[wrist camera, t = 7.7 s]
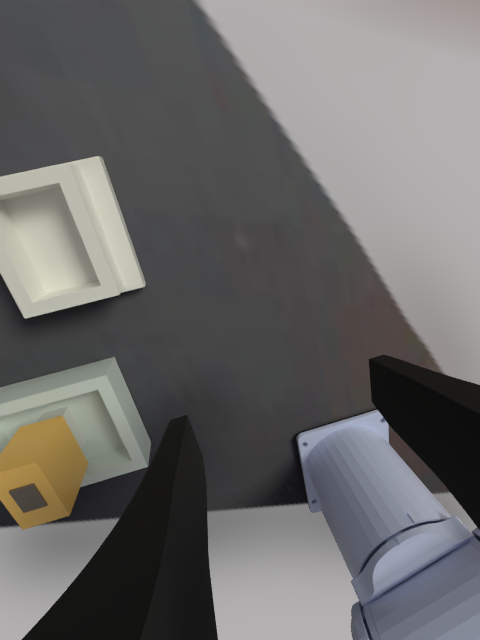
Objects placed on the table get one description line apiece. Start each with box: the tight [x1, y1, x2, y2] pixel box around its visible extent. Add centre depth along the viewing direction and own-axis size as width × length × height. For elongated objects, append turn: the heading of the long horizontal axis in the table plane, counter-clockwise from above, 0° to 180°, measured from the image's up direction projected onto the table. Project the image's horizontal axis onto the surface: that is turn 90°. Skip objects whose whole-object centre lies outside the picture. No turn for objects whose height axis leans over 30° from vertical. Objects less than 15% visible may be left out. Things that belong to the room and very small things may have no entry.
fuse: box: [0, 406, 89, 529], centre depth 18 cm, size 4×2×6 cm, turn 12°
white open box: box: [0, 156, 146, 319], centre depth 16 cm, size 7×7×3 cm
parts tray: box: [0, 357, 151, 487], centre depth 20 cm, size 8×9×2 cm
